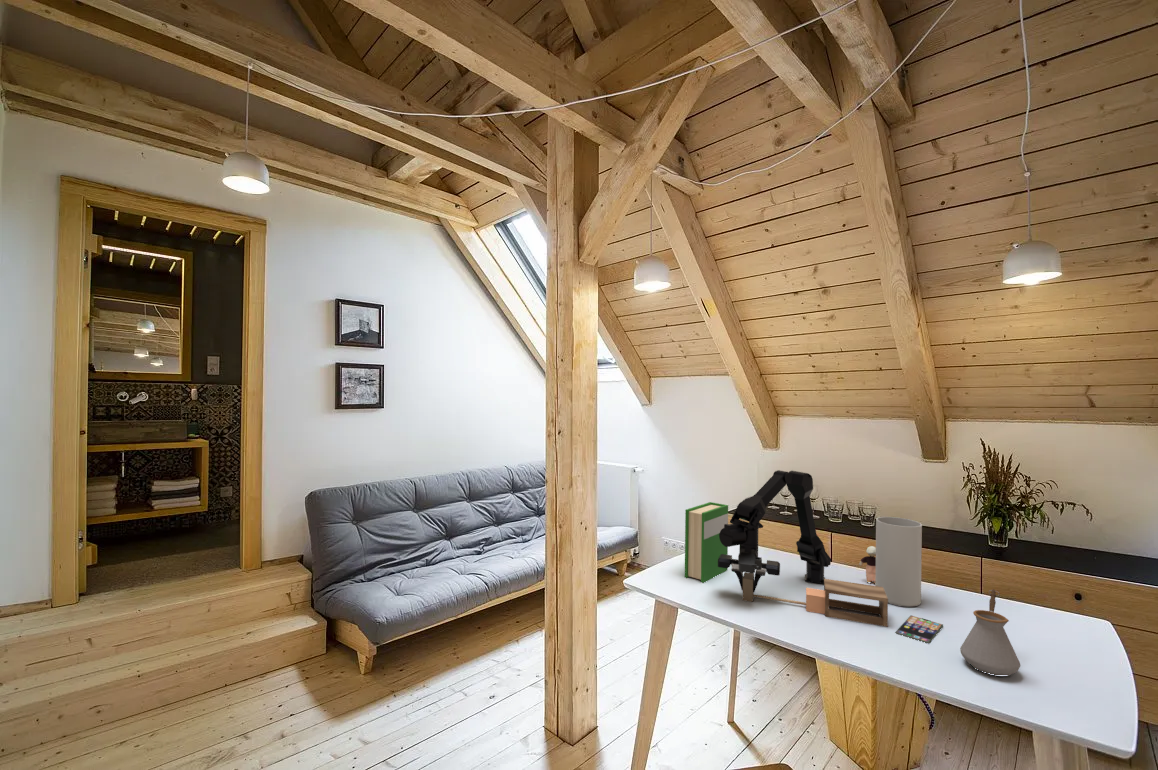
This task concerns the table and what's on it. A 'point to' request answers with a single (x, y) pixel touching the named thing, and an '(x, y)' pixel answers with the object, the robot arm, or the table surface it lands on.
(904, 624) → the smartphone
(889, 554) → the cylinder vase
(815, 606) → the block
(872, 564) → the grandmother figurine
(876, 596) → the shelf lane
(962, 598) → the table surface
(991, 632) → the coffee pot
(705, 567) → the hardback book
